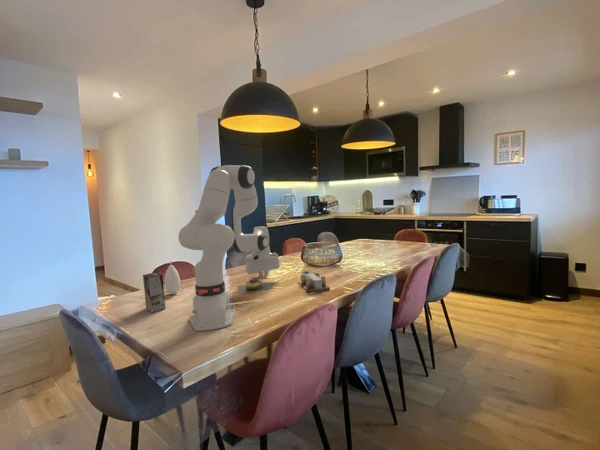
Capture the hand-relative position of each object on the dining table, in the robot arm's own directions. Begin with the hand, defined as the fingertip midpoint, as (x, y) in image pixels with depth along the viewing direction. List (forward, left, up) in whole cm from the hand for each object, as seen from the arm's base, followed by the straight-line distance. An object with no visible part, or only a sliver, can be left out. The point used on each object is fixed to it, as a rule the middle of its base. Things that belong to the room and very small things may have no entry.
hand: (263, 279), depth 182 cm
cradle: (-20, -23, -3) cm, 30 cm away
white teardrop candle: (+4, +48, -3) cm, 49 cm away
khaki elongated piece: (-4, +5, -2) cm, 7 cm away
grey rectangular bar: (-17, -23, -1) cm, 29 cm away
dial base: (-8, +7, -3) cm, 11 cm away
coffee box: (-18, +54, -3) cm, 57 cm away
